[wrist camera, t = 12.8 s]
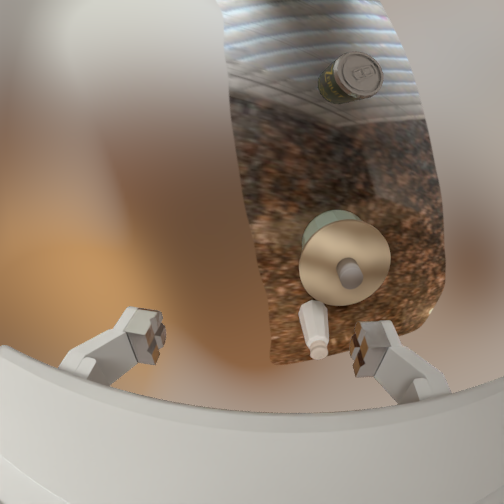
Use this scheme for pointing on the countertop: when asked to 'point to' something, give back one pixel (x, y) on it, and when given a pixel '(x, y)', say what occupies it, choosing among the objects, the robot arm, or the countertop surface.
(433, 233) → the countertop surface
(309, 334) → the pepper shaker
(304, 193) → the countertop surface
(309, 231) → the pale green pot
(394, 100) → the countertop surface
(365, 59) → the beer can
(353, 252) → the lid
